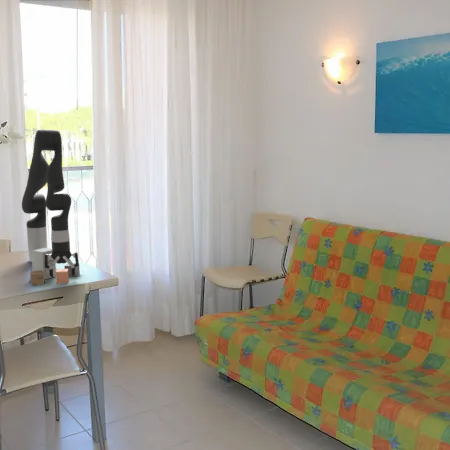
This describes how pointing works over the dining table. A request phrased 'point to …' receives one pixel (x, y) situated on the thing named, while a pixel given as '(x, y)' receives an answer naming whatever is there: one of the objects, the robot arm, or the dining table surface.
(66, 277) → the terracotta cube
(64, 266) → the charcoal cube
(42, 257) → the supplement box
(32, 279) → the walnut cube
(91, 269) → the dining table surface
